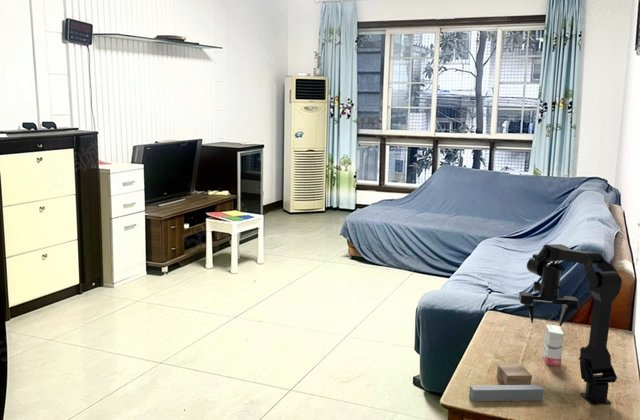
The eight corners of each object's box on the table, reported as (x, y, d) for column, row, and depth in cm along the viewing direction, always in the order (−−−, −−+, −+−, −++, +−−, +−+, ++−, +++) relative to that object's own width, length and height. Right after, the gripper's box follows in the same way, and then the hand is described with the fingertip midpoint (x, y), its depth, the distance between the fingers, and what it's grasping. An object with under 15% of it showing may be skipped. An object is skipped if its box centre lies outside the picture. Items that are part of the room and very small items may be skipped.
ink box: (560, 366, 208) (564, 334, 206) (545, 365, 209) (549, 332, 207) (556, 356, 216) (560, 325, 214) (542, 355, 217) (545, 323, 215)
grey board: (542, 400, 183) (543, 389, 183) (472, 401, 181) (473, 390, 180) (538, 395, 186) (539, 384, 186) (469, 396, 184) (470, 385, 183)
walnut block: (530, 388, 191) (532, 375, 190) (506, 388, 190) (507, 375, 190) (520, 377, 199) (521, 364, 198) (496, 377, 198) (497, 364, 197)
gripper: (575, 276, 212) (570, 319, 215) (519, 271, 216) (515, 313, 218) (581, 285, 201) (576, 330, 204) (523, 280, 205) (518, 324, 207)
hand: (545, 324), depth 209 cm, fingers open, 9 cm apart
